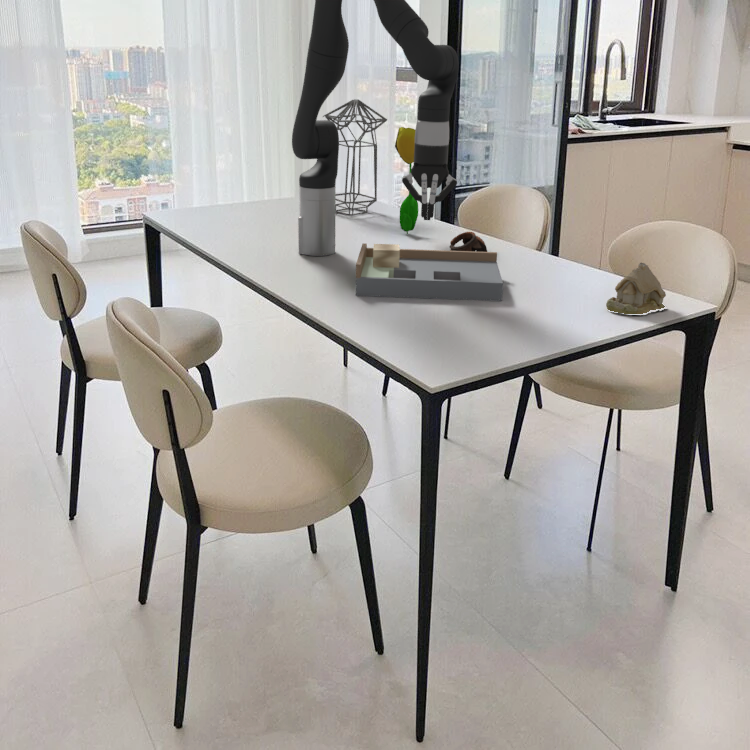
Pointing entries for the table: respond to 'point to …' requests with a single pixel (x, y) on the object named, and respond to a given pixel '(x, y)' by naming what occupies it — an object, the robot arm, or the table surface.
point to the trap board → (431, 275)
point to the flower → (406, 152)
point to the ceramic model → (637, 293)
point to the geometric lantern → (354, 104)
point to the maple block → (386, 255)
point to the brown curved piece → (468, 243)
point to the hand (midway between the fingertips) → (427, 219)
